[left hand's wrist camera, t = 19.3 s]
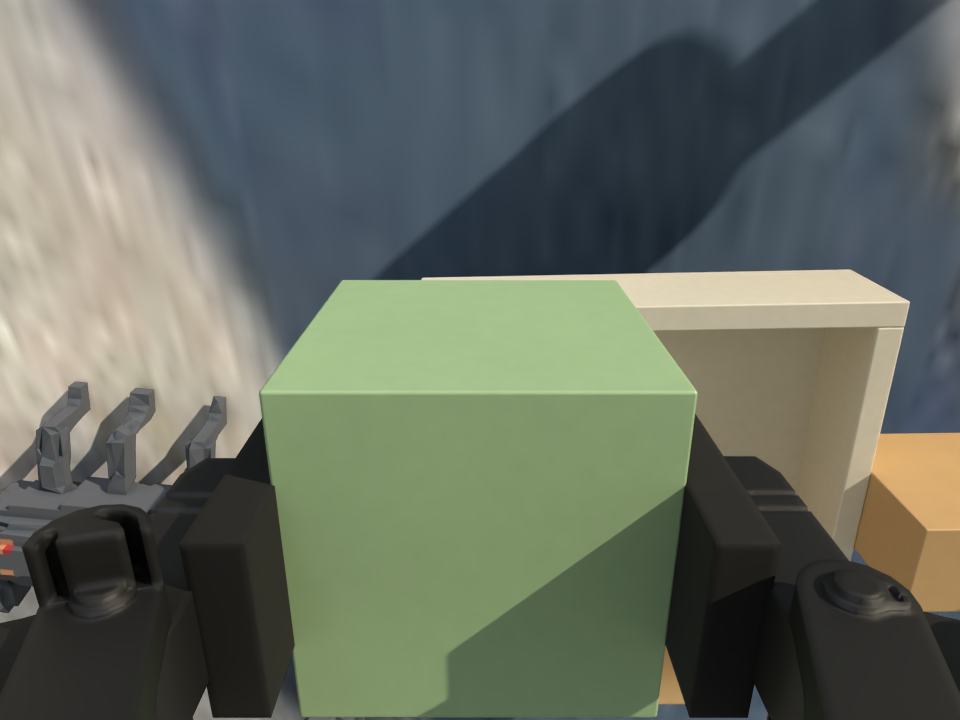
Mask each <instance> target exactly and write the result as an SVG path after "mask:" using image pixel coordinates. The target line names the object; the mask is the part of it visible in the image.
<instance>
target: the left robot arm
mask: <svg viewBox="0 0 960 720" xmlns="http://www.w3.org/2000/svg"><path fill="white" fill-rule="evenodd" d="M22 550H23V553H24V557H25V560H26V563H27V567H28V570H29V573H30V577H31V580H32V583H33V587H34V590H35V594H36V597H37V600H38V604H39V609H38V611H37V613H36V615H33V616H29V617H26V618H22V619H18V620H13V621H8V622H4V623H0V720H193V715H194V713H195V710H196V708H197V706H198V704H199V702H200V700H201V697H202V695H203V693H204V691H205V689H206V686H207V690H208V695H209V700H210V706H211V711H212V716H213V718H271V716H272V713H273V710H274V707H275V704H276V701H277V698H278V695H279V692H280V689H281V686H282V683H283V680H284V677H285V674H286V671H287V668H288V665H289V662H290V659H291V656H292V652H293V649H294V646H295V643H294V635H293V627H292V619H291V611H290V603H289V595H288V587H287V579H286V571H285V563H284V555H283V547H282V539H281V531H280V524H279V516H278V508H277V500H276V492H275V485H271V482H270V474H269V467H268V459H267V451H266V443H265V436H264V428H263V420H262V419H261V421H260V422H259V424H258V425H257V427H256V428H255V430H254V431H253V433H252V434H251V436H250V437H249V439H248V440H247V442H246V443H245V445H244V446H243V448H242V449H241V451H240V452H239V454H238V455H237V457H236V458H205V459H204V460H202V461H201V462H199V463H198V464H196V465H195V466H193V467H192V468H190V469H189V470H187V471H185V472H184V473H182V474H181V475H180V476H179V477H178V479H177V480H176V481H175V482H174V484H173V485H172V486H171V488H170V489H169V490H168V492H167V493H166V497H165V498H162V499H161V501H160V502H159V503H158V504H157V506H156V507H155V508H154V512H153V514H150V515H149V514H147V513H146V512H145V511H144V510H142V509H141V508H139V507H135V506H130V505H125V504H112V505H99V506H94V507H90V508H86V509H81V510H77V511H74V512H72V513H70V514H67V515H65V516H62V517H60V518H57V519H55V520H53V521H51V522H50V523H48V524H47V525H45V526H44V527H42V528H41V529H39V530H37V531H36V532H34V533H33V534H32V536H31V537H30V538H29V539H28V540H27V541H26V542H25V544H24V545H23V546H22ZM665 645H666V648H667V651H668V654H669V657H670V660H671V663H672V666H673V669H674V672H675V675H676V678H677V681H678V684H679V687H680V690H681V693H682V696H683V699H684V702H685V705H686V708H687V711H688V714H689V717H690V718H748V713H749V708H750V703H751V698H752V693H753V688H754V684H755V686H756V688H757V690H758V693H759V695H760V697H761V699H762V701H763V703H764V706H765V708H766V710H767V712H768V716H767V720H960V620H957V619H952V618H947V617H943V616H938V615H935V614H931V613H928V612H924V611H923V610H922V607H921V605H920V604H919V603H918V601H917V600H916V599H915V597H914V596H913V595H912V593H911V592H910V591H909V590H908V589H907V588H905V587H904V586H903V585H902V584H900V583H899V582H898V581H896V580H895V579H894V578H892V577H891V576H889V575H886V574H884V573H882V572H880V571H878V570H876V569H874V568H872V567H869V566H866V565H862V564H858V563H855V562H851V561H849V560H848V558H847V557H846V556H845V555H844V553H843V552H842V551H841V549H840V548H839V547H838V546H837V544H836V543H835V542H834V540H833V539H832V538H831V537H830V535H829V534H828V533H827V531H826V530H825V529H824V528H823V526H822V525H821V524H820V523H819V521H818V520H817V519H816V517H815V516H814V515H813V514H812V512H811V511H808V507H807V506H806V505H805V503H804V502H803V501H802V499H801V498H800V497H799V496H798V495H795V490H794V489H793V488H792V487H791V485H790V484H789V483H788V481H787V480H786V479H785V478H784V476H783V475H782V474H781V473H780V472H779V471H777V470H776V469H774V468H773V467H771V466H770V465H768V464H767V463H765V462H764V461H762V460H760V459H759V458H757V457H756V456H723V455H722V453H721V452H720V450H719V448H718V447H717V445H716V444H715V442H714V441H713V439H712V438H711V436H710V435H709V433H708V432H707V430H706V429H705V427H704V426H703V424H702V423H701V421H700V420H699V418H698V417H697V415H696V414H695V417H694V425H693V433H692V441H691V449H690V457H689V465H688V473H687V481H686V486H685V494H684V502H683V510H682V517H681V525H680V533H679V541H678V549H677V557H676V565H675V573H674V581H673V589H672V597H671V605H670V613H669V620H668V628H667V636H666V644H665Z"/></svg>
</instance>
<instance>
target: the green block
mask: <svg viewBox="0 0 960 720" xmlns="http://www.w3.org/2000/svg"><path fill="white" fill-rule="evenodd" d="M259 397H260V404H261V412H262V420H263V428H264V436H265V443H266V451H267V459H268V467H269V474H270V482H271V485H275V492H276V500H277V508H278V516H279V524H280V531H281V539H282V547H283V555H284V563H285V571H286V579H287V587H288V595H289V603H290V611H291V619H292V627H293V635H294V643H295V646H294V649H293V652H292V654H293V661H294V669H295V677H296V685H297V693H298V700H299V708H300V715H301V717H656V716H657V710H658V702H659V694H660V686H661V678H662V671H663V663H664V655H665V647H666V645H665V644H666V636H667V628H668V620H669V613H670V605H671V597H672V589H673V581H674V573H675V565H676V557H677V549H678V541H679V533H680V525H681V517H682V510H683V502H684V494H685V486H686V481H687V473H688V465H689V457H690V449H691V441H692V433H693V425H694V417H695V410H696V402H697V391H696V389H695V388H694V387H693V385H692V384H691V383H690V381H689V380H688V378H687V377H686V376H685V374H684V373H683V372H682V370H681V369H680V367H679V366H678V365H677V363H676V362H675V361H674V359H673V358H672V356H671V355H670V354H669V352H668V351H667V350H666V348H665V347H664V345H663V344H662V343H661V341H660V340H659V339H658V337H657V336H656V334H655V333H654V332H653V330H652V329H651V328H650V326H649V325H648V323H647V322H646V321H645V319H644V318H643V317H642V315H641V314H640V312H639V311H638V310H637V308H636V307H635V306H634V304H633V303H632V302H631V300H630V299H629V297H628V296H627V295H626V293H625V292H624V291H623V289H622V288H621V286H620V285H619V284H618V282H617V281H615V280H342V281H341V282H340V283H339V285H338V286H337V288H336V289H335V290H334V292H333V293H332V294H331V296H330V297H329V298H328V300H327V301H326V302H325V304H324V305H323V306H322V308H321V309H320V311H319V312H318V313H317V315H316V316H315V317H314V319H313V320H312V321H311V323H310V324H309V325H308V327H307V328H306V329H305V331H304V332H303V333H302V335H301V336H300V338H299V339H298V340H297V342H296V343H295V344H294V346H293V347H292V348H291V350H290V351H289V352H288V354H287V355H286V356H285V358H284V359H283V361H282V362H281V363H280V365H279V366H278V367H277V369H276V370H275V371H274V373H273V374H272V375H271V377H270V378H269V379H268V381H267V382H266V384H265V385H264V386H263V388H262V389H261V390H260V392H259Z"/></svg>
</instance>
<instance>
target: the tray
mask: <svg viewBox="0 0 960 720" xmlns="http://www.w3.org/2000/svg"><path fill="white" fill-rule="evenodd" d="M421 280H615V281H617V282H618V284H619V285H620V286H621V288H622V289H623V291H624V292H625V293H626V295H627V296H628V297H629V299H630V300H631V302H632V303H633V304H634V306H635V307H636V308H637V310H638V311H639V312H640V314H641V315H642V317H643V318H644V319H645V321H646V322H647V323H648V325H649V326H650V328H651V329H652V330H653V332H654V333H655V334H656V336H657V337H658V339H659V340H660V341H661V343H662V344H663V345H664V347H665V348H666V350H667V351H668V352H669V354H670V355H671V356H672V358H673V359H674V361H675V362H676V363H677V365H678V366H679V367H680V369H681V370H682V372H683V373H684V374H685V376H686V377H687V378H688V380H689V381H690V383H691V384H692V385H693V387H694V388H695V389H696V391H697V402H696V410H695V414H696V415H697V417H698V418H699V420H700V421H701V423H702V424H703V426H704V427H705V429H706V430H707V432H708V433H709V435H710V436H711V438H712V439H713V441H714V442H715V444H716V445H717V447H718V448H719V450H720V452H721V453H722V455H723V456H756V457H757V458H759V459H760V460H762V461H764V462H765V463H767V464H768V465H770V466H771V467H773V468H774V469H776V470H777V471H779V472H780V473H781V474H782V475H783V476H784V478H785V479H786V480H787V481H788V483H789V484H790V485H791V487H792V488H793V489H794V490H795V495H798V496H799V497H800V498H801V499H802V501H803V502H804V503H805V505H806V506H807V507H808V511H811V512H812V514H813V515H814V516H815V517H816V519H817V520H818V521H819V523H820V524H821V525H822V526H823V528H824V529H825V530H826V531H827V533H828V534H829V535H830V537H831V538H832V539H833V540H834V542H835V543H836V544H837V546H838V547H839V548H840V549H841V551H842V552H843V553H844V555H845V556H846V557H847V558H848V560H849V561H851V558H852V553H853V549H854V548H855V549H856V550H857V552H858V553H859V554H860V556H861V557H862V558H863V559H864V561H865V562H866V563H867V565H868V566H869V567H872V568H874V569H876V570H878V571H880V572H882V573H884V574H886V575H889V576H891V577H892V578H894V579H895V580H896V581H898V582H899V583H900V584H902V585H903V586H904V587H905V588H907V589H908V590H909V591H910V592H911V593H912V595H913V596H914V597H915V599H916V600H917V601H918V603H919V604H920V605H921V607H922V610H923V611H924V612H960V433H915V434H880V431H881V426H882V422H883V417H884V413H885V409H886V404H887V400H888V395H889V391H890V387H891V382H892V378H893V374H894V369H895V365H896V360H897V356H898V352H899V347H900V343H901V338H902V334H903V330H904V329H903V327H904V326H905V321H906V317H907V313H908V308H909V304H910V302H909V301H907V300H905V299H904V298H902V297H900V296H898V295H896V294H894V293H893V292H891V291H889V290H887V289H885V288H883V287H881V286H880V285H878V284H876V283H874V282H872V281H870V280H868V279H867V278H865V277H863V276H861V275H859V274H857V273H855V272H854V271H852V270H802V271H750V272H698V273H646V274H594V275H542V276H490V277H438V278H422V279H421Z"/></svg>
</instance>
